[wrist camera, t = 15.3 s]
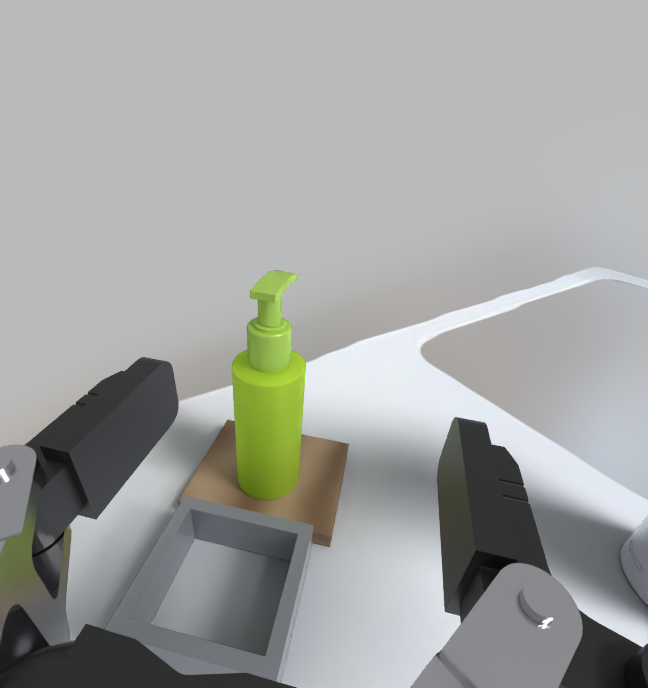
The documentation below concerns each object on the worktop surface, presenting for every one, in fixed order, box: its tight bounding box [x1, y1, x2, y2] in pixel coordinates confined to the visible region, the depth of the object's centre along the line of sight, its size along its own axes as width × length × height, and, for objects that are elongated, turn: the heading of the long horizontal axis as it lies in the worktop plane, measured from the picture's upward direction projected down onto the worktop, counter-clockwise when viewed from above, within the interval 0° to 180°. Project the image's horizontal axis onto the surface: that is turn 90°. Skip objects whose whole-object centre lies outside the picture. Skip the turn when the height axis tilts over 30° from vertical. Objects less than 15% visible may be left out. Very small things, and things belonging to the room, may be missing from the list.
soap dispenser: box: [232, 270, 306, 500], centre depth 32 cm, size 6×7×20 cm
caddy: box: [104, 496, 313, 683], centre depth 28 cm, size 11×10×4 cm
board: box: [178, 420, 349, 547], centre depth 38 cm, size 14×11×2 cm
